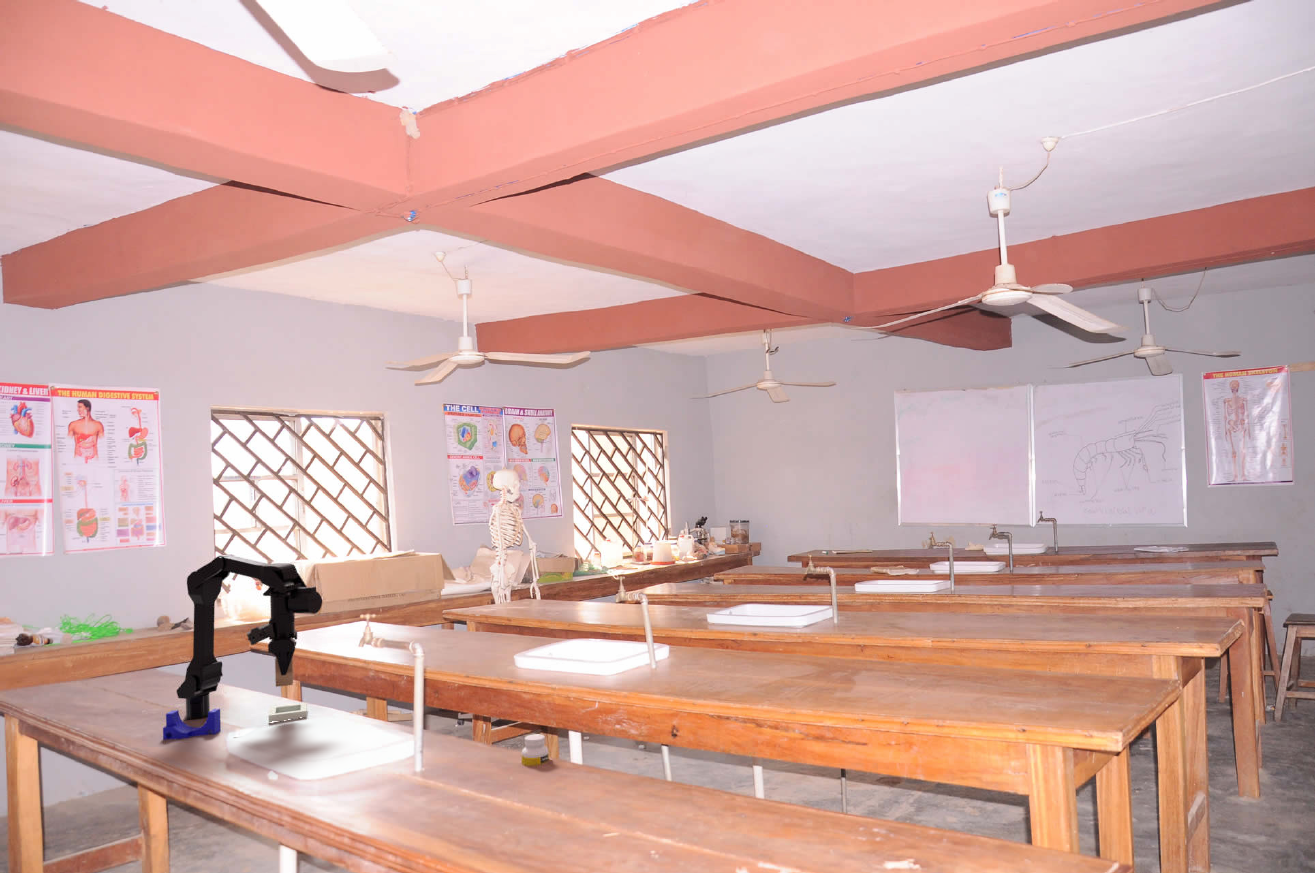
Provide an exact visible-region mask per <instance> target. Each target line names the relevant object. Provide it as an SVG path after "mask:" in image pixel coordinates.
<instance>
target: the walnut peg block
mask: <svg viewBox="0 0 1315 873" xmlns="http://www.w3.org/2000/svg"><path fill="white" fill-rule="evenodd" d="M293 657H294V656H293ZM293 657H292V659H291V662H290V665H289V668H288V670H287V673H286V675H281V672H280V668H279V664H278V660H277V657H276V656H275V658H274V664H275V665H274V666H275V667H274V668H275V671H274V672H275V675H274V676H275V688H277V687H287V686H293V685H294V665H293V664H294V662H293Z"/></svg>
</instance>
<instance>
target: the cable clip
mask: <svg viewBox="0 0 1315 873" xmlns="http://www.w3.org/2000/svg"><path fill="white" fill-rule="evenodd" d="M179 713H180V711H179V709H176V710H175V709H174V710H171V711H169V712H167V713H166V714H165V722H166V724H165V726H164V727H162V735H163V736H162V740H182V738H185V739H189V738H191V737H199V736H200V737H201V736H209V735H210V734H211V735H216V734H218V733H219V732H221V731H222V729H221V727H222V726H221V722H222V721H221V708H214V709H210V712H208V718H206V721H205V723H204V724H203V725H202V726H199V727H193V726H190V725H188V724H186V723H185V722H184V720H182V718H181V715H180V714H179Z"/></svg>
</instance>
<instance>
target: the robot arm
mask: <svg viewBox="0 0 1315 873" xmlns="http://www.w3.org/2000/svg"><path fill="white" fill-rule="evenodd" d="M231 573H232V574H235V575H240V576H242V577H243V576H244V577H248V578H252V579H257V580H258V581H260V583H261V584H263V585H264V586H267V587H268V588H267V589H266V590H265V591H264V592H263V593H262V595H263V597H269V599H270V603H269V604H270V618H269V620H268V623H266V624H263V625H261V626H255V627H254V628H251V629H250V630H248V631H247V633H246V636H247V640H248V641H249V643H250V645H251V646H254V645H256V644H257V643H259V642H262V641H264V640H266V639H268V638H269V639H268V640H269V642H268V645H267V653H271V654H272V655H274V656H275V658H276V657H277V660H278V664H279V668H280V672H281V675H286V673H287V670H288V668H289V665H290V662H291V659H292V657H294V654H295V651H296V646H297V640H298V630H297V629H296V622H295V620H296V614H305V615H306V614H309V615H310V614H311V615H316V614H317V613H319V612H320V610H321V609H322V605H323V598H322V596H321V593H320V592H319V591H317V587H316V586H310V587H307V585H306V584H305V581H304V580H303V578H302V577H301V574H299V572H298V570H297V568H296V565H295V564H293V563H287V562H283V563H281V562H278V563H277V562H276V563H267V562H266V563H265V562H262V561H257V560H254V559H249V558H244V557H240V556H236V555H234V554H228V553H227V554H222V555H218V556H216V557H215V558H214V559H212V560H211V561H210V562H208V563H207V564H205V565H202V567H200V568H198V569H197V570H194V571H192V572H190V574H189V575H187V577H186V586H187V595H188V596H189V597H190V599H191V601H192V602H193V639H192V640H193V642H192V643H193V644H192V647H193V648H192V649H193V650H192V653H193V654H192V658H191V661H190V662H189V663H188V665H187V667H186V672H185V677H184V680H183V682H182V683H181V684H180V686H179V687H178V688H177V689H176V695H177V698H178V699H185V715H184V718H183V720H182V721H191V720H199V719H200V720H201V719H207V718H208V712H210V711H211V709H210V708H211V707H210V706H211V705H210V704H211V703H210V702H211V700H210V693H213V692H216V691H217V690H218V686H219V683H220V682H221V679H222V678H221V677H223V675H224V674H223V661H218V659H217V658H216V657H215V655H214V654H215V653H214V652H215V603H216V600H217V599H218V597H219V595H221V591H222V587H223V582H224V581H225V580H226V579H227V578H228V577H229V576H230V574H231ZM257 645H258V644H257Z"/></svg>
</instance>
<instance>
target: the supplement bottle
mask: <svg viewBox="0 0 1315 873" xmlns="http://www.w3.org/2000/svg"><path fill="white" fill-rule="evenodd" d="M545 744H546V737H545V735H544V734H538V733H537V734H536V733H534V734H529V735H526V736H525V737H524V745H525V747H523V748H522V750H521V764H522V765H523V766H527V767H528V766H529V767H533V766H539V765H543V764H546V763H547V762H549V759H550V758H549V757H550V756H549V749H548V747H547V746H546V745H545Z"/></svg>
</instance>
